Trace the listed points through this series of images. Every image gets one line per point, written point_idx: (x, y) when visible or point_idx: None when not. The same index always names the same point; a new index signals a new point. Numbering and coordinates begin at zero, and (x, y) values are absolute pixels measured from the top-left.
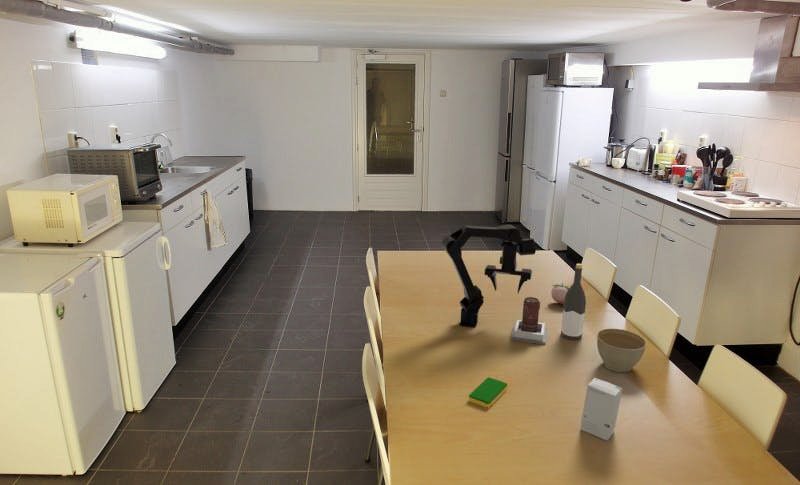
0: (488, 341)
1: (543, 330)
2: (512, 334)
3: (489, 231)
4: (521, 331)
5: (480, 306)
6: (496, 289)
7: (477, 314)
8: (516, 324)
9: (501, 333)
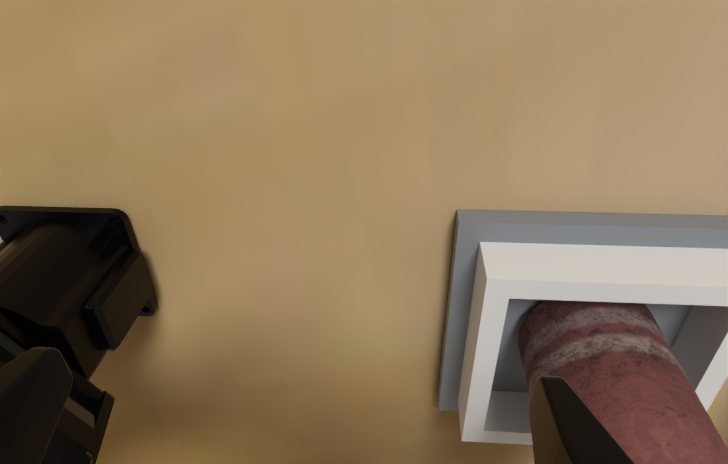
0: (308, 429)
1: (708, 401)
2: (446, 378)
3: None
4: (515, 439)
5: (96, 453)
6: (51, 358)
7: (108, 337)
8: (478, 359)
9: (365, 338)
